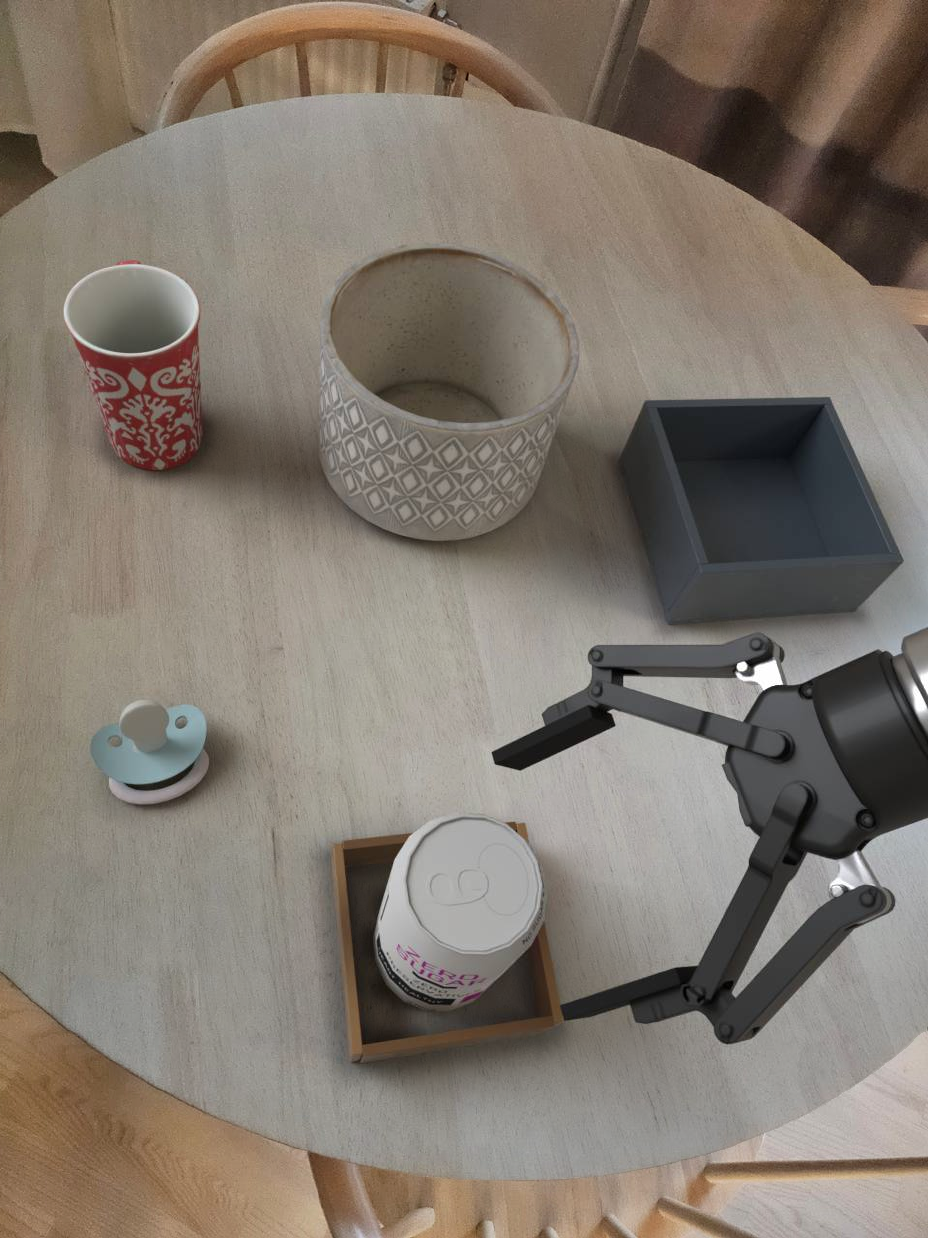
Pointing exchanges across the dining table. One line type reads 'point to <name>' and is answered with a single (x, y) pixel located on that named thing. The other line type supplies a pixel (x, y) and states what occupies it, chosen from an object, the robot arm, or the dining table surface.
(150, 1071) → the dining table surface
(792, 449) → the grey storage bin
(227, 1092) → the dining table surface
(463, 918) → the supplement can
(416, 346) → the planter
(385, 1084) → the dining table surface
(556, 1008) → the box
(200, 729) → the pacifier
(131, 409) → the mug
